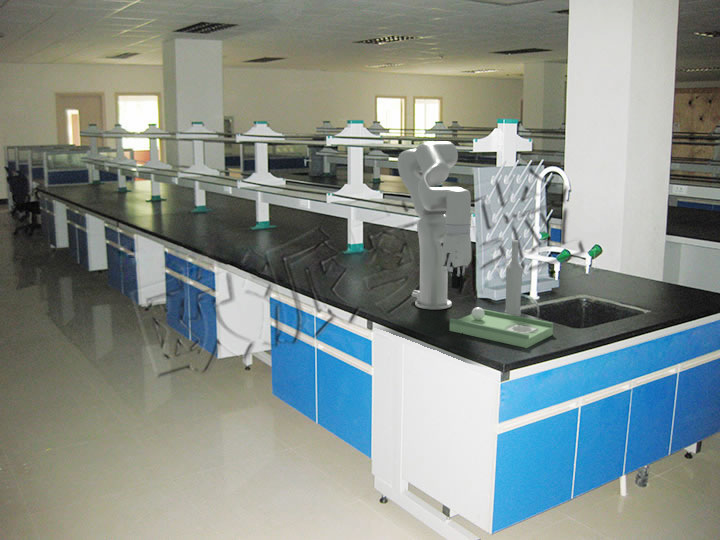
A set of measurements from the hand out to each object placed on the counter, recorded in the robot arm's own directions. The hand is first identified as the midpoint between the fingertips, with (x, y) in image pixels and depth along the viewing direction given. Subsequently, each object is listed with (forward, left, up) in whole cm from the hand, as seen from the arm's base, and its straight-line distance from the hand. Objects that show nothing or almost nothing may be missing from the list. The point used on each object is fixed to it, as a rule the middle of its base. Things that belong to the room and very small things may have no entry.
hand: (457, 287), depth 216 cm
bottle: (+9, +18, -12) cm, 24 cm away
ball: (+7, 0, -7) cm, 10 cm away
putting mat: (+15, 0, -12) cm, 19 cm away
